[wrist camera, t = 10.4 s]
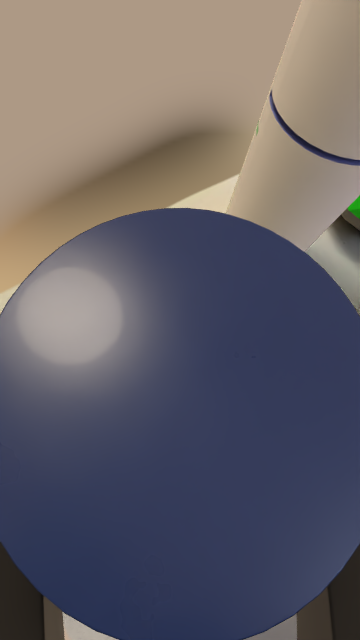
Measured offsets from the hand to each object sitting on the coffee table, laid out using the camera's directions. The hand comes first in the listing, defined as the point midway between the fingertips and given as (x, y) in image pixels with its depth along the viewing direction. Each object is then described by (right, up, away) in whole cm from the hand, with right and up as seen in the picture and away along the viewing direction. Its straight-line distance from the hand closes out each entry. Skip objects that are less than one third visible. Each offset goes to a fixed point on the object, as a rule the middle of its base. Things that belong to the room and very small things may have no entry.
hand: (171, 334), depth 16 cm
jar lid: (+1, 0, -10) cm, 10 cm away
